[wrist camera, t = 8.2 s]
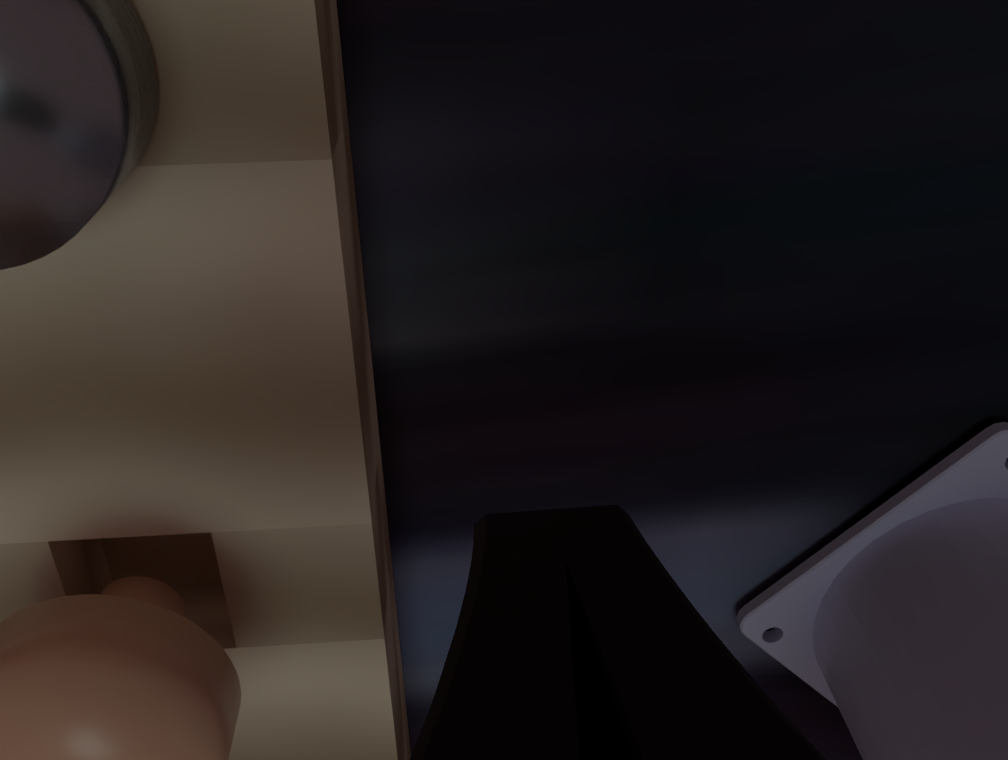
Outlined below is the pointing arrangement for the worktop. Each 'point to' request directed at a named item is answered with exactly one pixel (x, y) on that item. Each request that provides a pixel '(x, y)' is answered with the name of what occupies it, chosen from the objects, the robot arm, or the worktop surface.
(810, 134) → the worktop surface
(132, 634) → the pot knob
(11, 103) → the knob
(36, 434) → the knob bar
